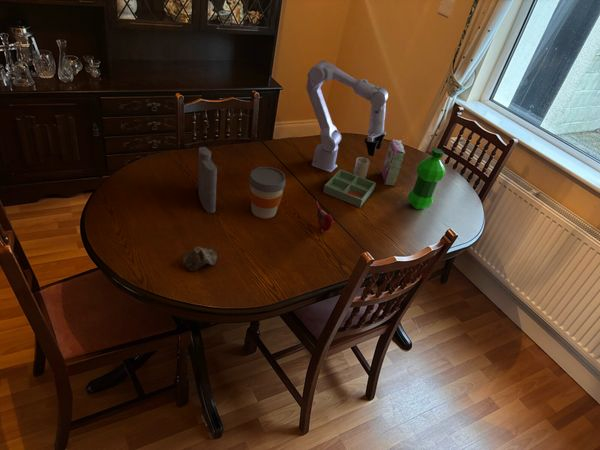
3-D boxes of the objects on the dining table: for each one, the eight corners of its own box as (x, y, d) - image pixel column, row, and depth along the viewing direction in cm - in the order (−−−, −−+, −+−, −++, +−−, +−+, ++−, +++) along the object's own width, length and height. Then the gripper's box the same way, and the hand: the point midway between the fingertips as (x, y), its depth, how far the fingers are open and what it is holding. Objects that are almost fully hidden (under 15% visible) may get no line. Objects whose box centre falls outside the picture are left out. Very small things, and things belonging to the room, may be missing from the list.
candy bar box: (380, 171, 198) (390, 138, 189) (391, 173, 199) (402, 140, 189) (383, 185, 189) (394, 150, 180) (395, 186, 190) (406, 152, 180)
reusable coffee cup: (276, 224, 156) (281, 189, 147) (241, 216, 157) (245, 180, 148) (284, 205, 166) (289, 171, 157) (252, 198, 167) (255, 163, 158)
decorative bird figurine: (323, 244, 151) (328, 220, 146) (309, 213, 165) (313, 190, 159) (331, 243, 152) (337, 220, 146) (316, 213, 166) (321, 190, 160)
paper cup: (350, 176, 191) (354, 160, 186) (355, 171, 195) (359, 155, 190) (362, 181, 189) (367, 165, 184) (367, 176, 193) (371, 160, 189)
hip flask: (216, 212, 157) (218, 163, 145) (204, 214, 155) (205, 164, 143) (206, 188, 168) (207, 140, 156) (195, 189, 166) (195, 140, 154)
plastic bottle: (402, 206, 178) (421, 151, 163) (409, 195, 186) (428, 141, 171) (426, 216, 175) (448, 160, 160) (432, 204, 183) (454, 150, 168)
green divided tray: (322, 192, 178) (324, 185, 175) (338, 176, 190) (340, 169, 188) (360, 207, 173) (362, 200, 171) (373, 189, 185) (376, 182, 183)
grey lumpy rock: (214, 246, 139) (182, 252, 137) (214, 239, 132) (179, 246, 130) (219, 269, 136) (186, 276, 134) (218, 263, 130) (184, 271, 128)
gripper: (380, 128, 169) (377, 160, 176) (392, 116, 179) (389, 147, 187) (363, 125, 171) (360, 157, 179) (375, 113, 182) (373, 144, 190)
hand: (374, 152), depth 183 cm, fingers open, 7 cm apart
